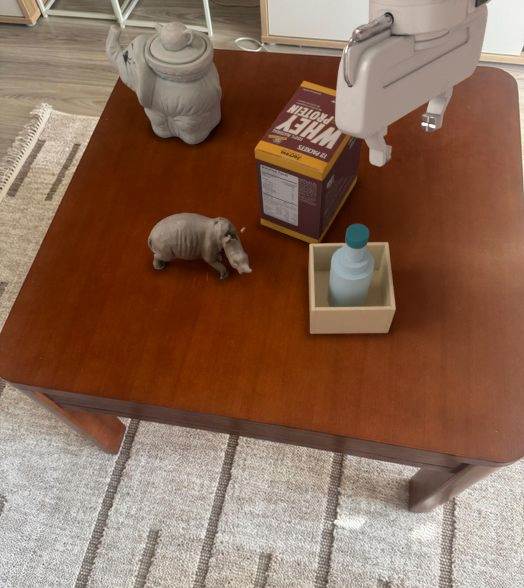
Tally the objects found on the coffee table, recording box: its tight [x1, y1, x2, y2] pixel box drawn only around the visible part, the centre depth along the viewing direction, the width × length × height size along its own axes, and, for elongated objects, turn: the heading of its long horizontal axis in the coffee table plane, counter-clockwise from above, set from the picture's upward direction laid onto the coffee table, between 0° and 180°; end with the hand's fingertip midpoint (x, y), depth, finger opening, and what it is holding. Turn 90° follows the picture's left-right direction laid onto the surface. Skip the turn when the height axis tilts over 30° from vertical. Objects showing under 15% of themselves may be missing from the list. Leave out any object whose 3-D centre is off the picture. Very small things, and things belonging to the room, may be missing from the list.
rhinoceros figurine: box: [147, 212, 253, 280], centre depth 78 cm, size 8×14×15 cm
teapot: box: [105, 21, 223, 145], centre depth 88 cm, size 16×15×19 cm
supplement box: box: [254, 80, 364, 244], centre depth 79 cm, size 10×15×16 cm
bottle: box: [328, 223, 374, 307], centre depth 70 cm, size 6×6×15 cm
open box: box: [308, 241, 397, 335], centre depth 74 cm, size 11×11×6 cm
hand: (406, 145), depth 58 cm, fingers open, 8 cm apart
